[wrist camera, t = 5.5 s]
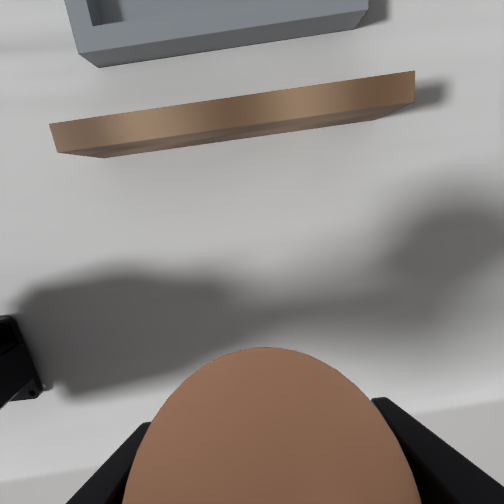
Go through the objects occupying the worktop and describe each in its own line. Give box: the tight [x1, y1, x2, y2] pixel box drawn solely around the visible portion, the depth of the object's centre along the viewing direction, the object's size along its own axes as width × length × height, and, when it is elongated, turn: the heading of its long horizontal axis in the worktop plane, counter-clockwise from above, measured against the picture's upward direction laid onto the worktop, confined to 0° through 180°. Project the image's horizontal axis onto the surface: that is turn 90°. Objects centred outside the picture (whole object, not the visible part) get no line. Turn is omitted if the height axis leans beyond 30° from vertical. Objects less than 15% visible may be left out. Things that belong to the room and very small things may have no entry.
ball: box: [122, 347, 422, 504], centre depth 6 cm, size 6×6×6 cm
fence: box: [49, 71, 415, 158], centre depth 14 cm, size 16×1×4 cm, turn 98°
